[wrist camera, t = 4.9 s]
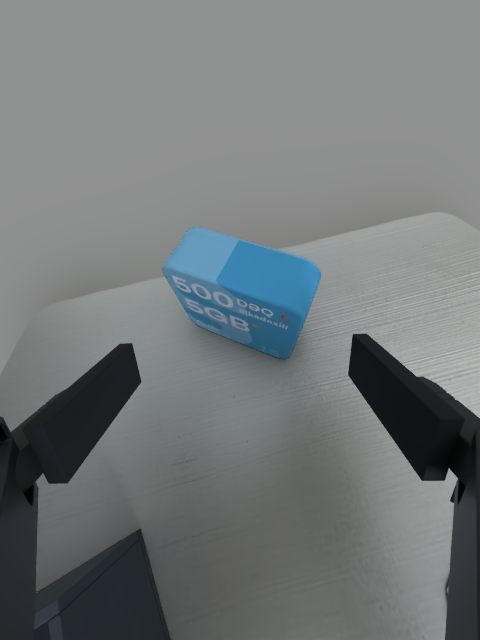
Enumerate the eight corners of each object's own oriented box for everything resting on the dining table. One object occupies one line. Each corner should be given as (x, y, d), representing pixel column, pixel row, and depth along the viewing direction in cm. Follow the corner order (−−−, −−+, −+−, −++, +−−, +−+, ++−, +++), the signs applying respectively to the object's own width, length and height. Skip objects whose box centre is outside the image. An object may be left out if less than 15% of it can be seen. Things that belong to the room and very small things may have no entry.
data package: (193, 324, 29) (154, 261, 18) (209, 295, 31) (183, 220, 20) (286, 362, 26) (307, 315, 15) (299, 327, 28) (326, 262, 17)
